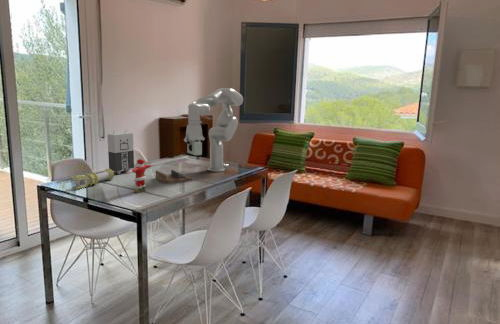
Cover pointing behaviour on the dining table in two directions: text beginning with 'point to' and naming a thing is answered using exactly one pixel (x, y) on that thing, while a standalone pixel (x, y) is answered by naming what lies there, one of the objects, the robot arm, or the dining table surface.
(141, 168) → the santa figurine
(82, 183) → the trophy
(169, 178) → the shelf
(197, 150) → the pale green block
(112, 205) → the dining table surface
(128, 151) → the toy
